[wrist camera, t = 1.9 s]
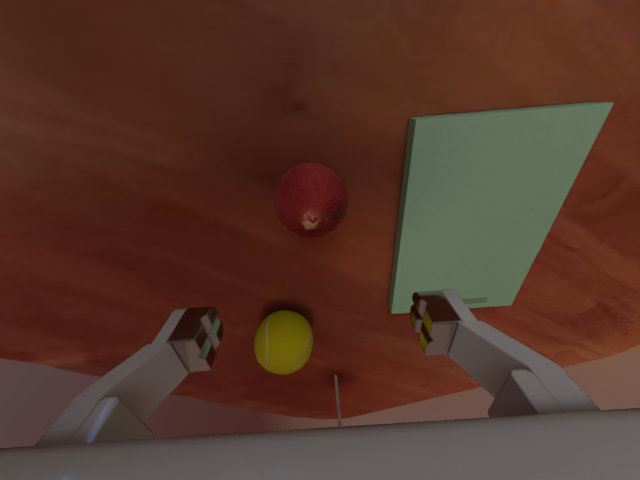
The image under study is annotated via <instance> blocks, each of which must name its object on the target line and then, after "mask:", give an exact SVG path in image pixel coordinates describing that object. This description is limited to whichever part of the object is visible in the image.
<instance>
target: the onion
mask: <svg viewBox="0 0 640 480" xmlns="http://www.w3.org/2000/svg"><path fill="white" fill-rule="evenodd" d="M347 204H348V195H347V191H346V187H345V183H344V182H343V180H342V179H341V178H340V177H339V175H338V174H337V173H336V172H335V171H334V170H332V169H330V168H328V167H326V166H324V165H323V164H320V163H312V162H305V163H301V164H298V165H294V166H293V167H292V168H290V169H289V170H288V171H286V172H285V173H284V174H283V175H282V176H281V178H280V180H279V182H278V184H277V186H276V188H275V208H276V210H277V213H278V216H279V219H280V220H281V221H282V223H283V224H284V225H285V226H286V227H287V228H288V229H289V230H290V231H292V232H294V233H296V234H298V235H300V236H305V237H318V236H323V235H325V234H327V233H329V232H330V231H332V230H334V229H335V228H336V227H337V226H338V224H339V223H340V222H341V220H342V219H343V218H344V216H345V212H346V208H347Z"/></svg>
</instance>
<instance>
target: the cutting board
mask: <svg viewBox="0 0 640 480" xmlns="http://www.w3.org/2000/svg"><path fill="white" fill-rule="evenodd" d="M613 104H614V103H612V102H588V103H576V104H564V105H552V106H541V107H529V108H517V109H505V110H494V111H482V112H470V113H458V114H447V115H435V116H423V117H411V118H409V125H408V134H407V143H406V152H405V161H404V170H403V178H402V187H401V196H400V205H399V214H398V222H397V231H396V240H395V249H394V258H393V267H392V275H391V284H390V293H389V302H388V306H389V309H390V312H391V314H399V313H410V307H411V306H412V305H413V304H414V302H413V300H412V296H413V293H414V292H421V291H433V290H445V289H453V290H455V291H456V292H457V294H458V295H459V296H460V298H461V299H462V300H463V302H464V303H465V304H466V306H467V307H468V308H480V307H494V306H508V305H512V303H513V301H514V299H515V297H516V295H517V293H518V291H519V289H520V287H521V285H522V283H523V281H524V279H525V277H526V275H527V273H528V271H529V269H530V267H531V265H532V263H533V261H534V259H535V257H536V255H537V253H538V251H539V249H540V248H541V246H542V244H543V242H544V240H545V238H546V236H547V234H548V232H549V230H550V228H551V226H552V224H553V222H554V220H555V218H556V216H557V214H558V212H559V210H560V208H561V206H562V204H563V202H564V200H565V198H566V196H567V194H568V192H569V190H570V188H571V186H572V185H573V183H574V181H575V179H576V177H577V175H578V173H579V171H580V169H581V167H582V165H583V163H584V161H585V159H586V157H587V155H588V153H589V151H590V149H591V147H592V145H593V143H594V141H595V139H596V137H597V135H598V133H599V131H600V129H601V127H602V125H603V124H604V122H605V120H606V118H607V116H608V114H609V112H610V110H611V108H612V106H613Z"/></svg>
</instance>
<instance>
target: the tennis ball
mask: <svg viewBox="0 0 640 480" xmlns="http://www.w3.org/2000/svg"><path fill="white" fill-rule="evenodd" d="M312 347H313V334H312V330H311V327H310V325H309V323H308V321H307V320H306V319H305V318H304V317H303V316H302V315H300V314H298V313H296V312H293V311H288V310H282V311H277V312H275V313H272V314H270V315H269V316H268V317H266V318H265V319H264V320H263V322H262V323H261V325H260V326H259V328H258V330H257V333H256V336H255V342H254V349H255V354H256V358H257V360H258V362H259V364H260V365H261V366H263V367H264V369H266V370H267V371H269V372H272V373H275V374H290V373H293V372H294V371H297V370H299V369H300V368H301V367H302V366H303V365H304V364H305V363H306V362H307V360H308V358H309V356H310V354H311V351H312Z"/></svg>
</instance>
